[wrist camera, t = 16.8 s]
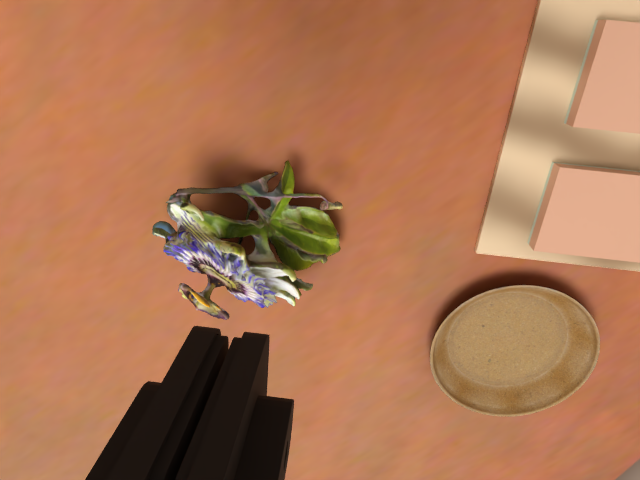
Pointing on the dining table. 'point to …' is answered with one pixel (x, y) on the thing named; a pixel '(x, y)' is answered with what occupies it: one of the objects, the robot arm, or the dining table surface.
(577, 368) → the plant saucer
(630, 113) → the tile
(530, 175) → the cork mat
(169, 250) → the passion flower
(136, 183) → the dining table surface
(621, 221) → the tile
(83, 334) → the dining table surface
